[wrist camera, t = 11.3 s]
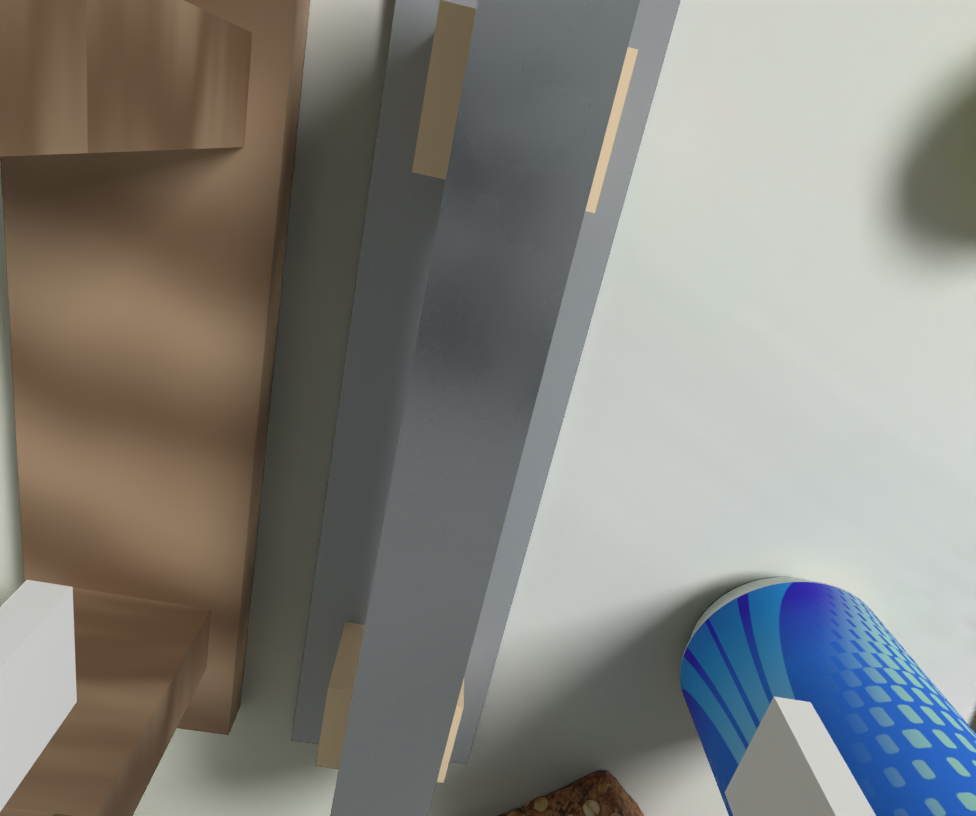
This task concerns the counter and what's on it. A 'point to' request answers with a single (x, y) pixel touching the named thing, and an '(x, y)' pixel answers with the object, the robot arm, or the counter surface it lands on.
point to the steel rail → (476, 374)
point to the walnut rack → (144, 353)
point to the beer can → (828, 693)
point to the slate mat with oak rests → (392, 339)
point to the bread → (584, 800)
